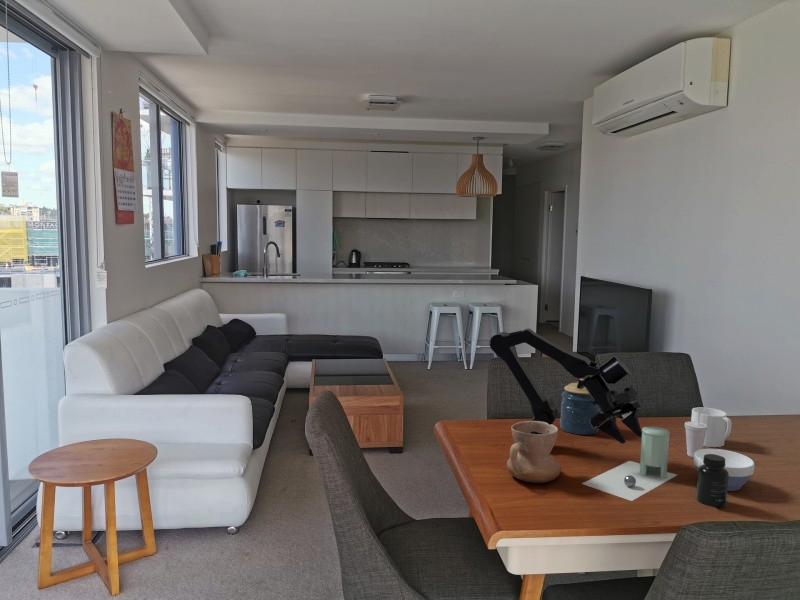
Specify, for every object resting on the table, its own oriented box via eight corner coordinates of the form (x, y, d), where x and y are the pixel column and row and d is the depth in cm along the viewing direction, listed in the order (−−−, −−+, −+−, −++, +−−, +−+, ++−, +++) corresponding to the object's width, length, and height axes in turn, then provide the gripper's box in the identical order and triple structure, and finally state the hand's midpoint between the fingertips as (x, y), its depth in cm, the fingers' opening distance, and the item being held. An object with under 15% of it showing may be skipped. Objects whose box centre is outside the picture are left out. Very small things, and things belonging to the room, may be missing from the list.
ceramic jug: (533, 462, 181) (534, 415, 179) (574, 478, 169) (575, 427, 168) (489, 477, 170) (490, 427, 168) (530, 495, 158) (531, 441, 157)
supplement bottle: (690, 497, 158) (693, 452, 157) (715, 497, 159) (719, 451, 158) (705, 509, 152) (709, 462, 150) (732, 509, 152) (736, 461, 151)
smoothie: (708, 460, 185) (711, 414, 184) (685, 458, 187) (688, 412, 185) (702, 452, 192) (705, 408, 190) (680, 450, 193) (683, 406, 191)
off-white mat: (631, 502, 155) (631, 500, 155) (581, 485, 165) (581, 483, 165) (677, 476, 172) (677, 474, 172) (629, 462, 182) (629, 460, 182)
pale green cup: (639, 476, 170) (642, 432, 169) (639, 467, 177) (641, 425, 175) (667, 480, 168) (670, 435, 166) (665, 471, 174) (668, 428, 173)
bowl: (751, 501, 157) (753, 472, 156) (688, 487, 165) (690, 460, 164) (753, 482, 169) (756, 455, 168) (695, 470, 177) (697, 444, 176)
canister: (599, 437, 204) (602, 385, 202) (558, 433, 208) (561, 381, 206) (598, 425, 217) (601, 376, 215) (560, 422, 220) (562, 373, 218)
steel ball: (623, 487, 162) (624, 476, 162) (623, 483, 165) (624, 472, 165) (635, 489, 161) (636, 478, 161) (635, 485, 164) (636, 474, 164)
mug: (683, 440, 203) (685, 409, 202) (702, 435, 208) (704, 406, 207) (719, 452, 192) (721, 420, 191) (738, 447, 197) (741, 416, 196)
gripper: (601, 382, 173) (635, 431, 165) (636, 374, 185) (670, 419, 177) (575, 403, 180) (607, 451, 172) (611, 394, 191) (642, 438, 184)
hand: (632, 439), depth 176 cm, fingers open, 9 cm apart
